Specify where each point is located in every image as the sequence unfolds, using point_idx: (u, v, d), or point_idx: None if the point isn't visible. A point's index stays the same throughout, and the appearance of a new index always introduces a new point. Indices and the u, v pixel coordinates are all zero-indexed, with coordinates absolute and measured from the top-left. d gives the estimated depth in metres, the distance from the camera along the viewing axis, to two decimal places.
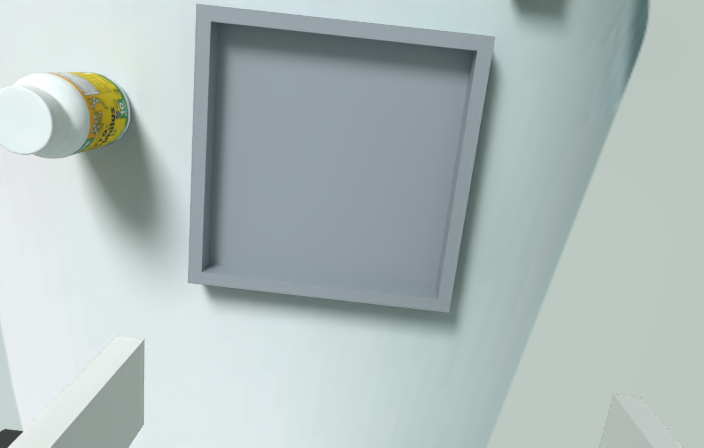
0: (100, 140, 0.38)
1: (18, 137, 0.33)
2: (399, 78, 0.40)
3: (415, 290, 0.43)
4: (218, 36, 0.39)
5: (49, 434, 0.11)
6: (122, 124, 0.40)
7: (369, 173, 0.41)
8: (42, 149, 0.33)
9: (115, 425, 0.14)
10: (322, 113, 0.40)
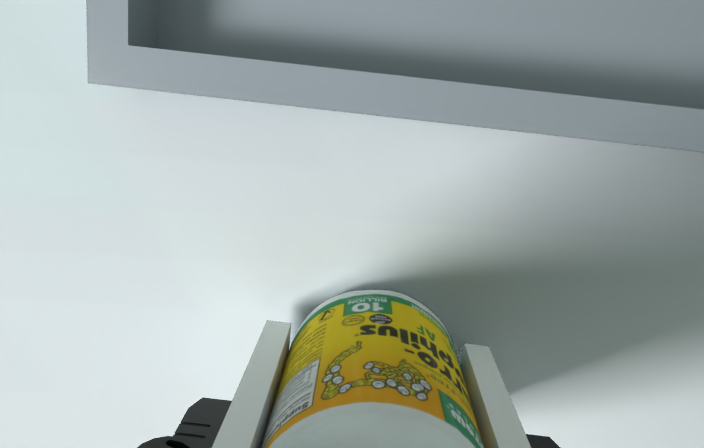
0: (447, 372, 0.14)
1: None
2: None
3: None
4: (187, 50, 0.15)
5: (255, 399, 0.13)
6: (406, 311, 0.16)
7: None
8: None
9: None
10: None
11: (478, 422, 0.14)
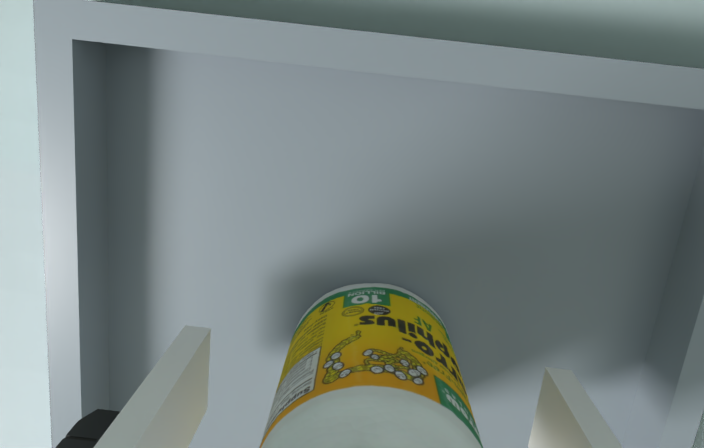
0: (443, 360, 0.14)
1: None
2: (179, 211, 0.18)
3: None
4: None
5: (146, 412, 0.12)
6: (404, 303, 0.16)
7: (394, 275, 0.18)
8: None
9: (189, 407, 0.15)
10: (264, 368, 0.19)
11: None
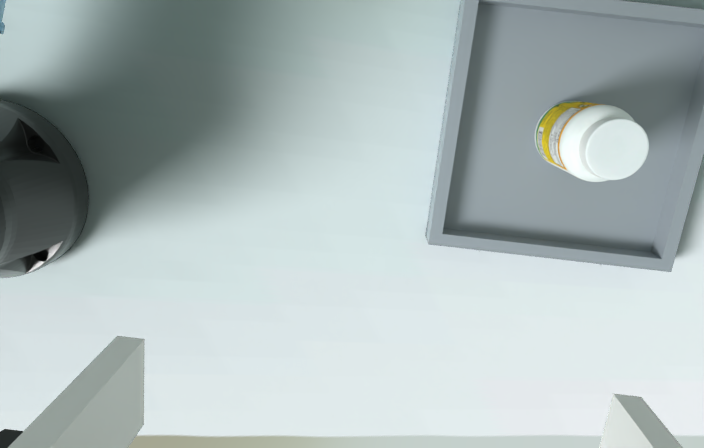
0: None
1: (632, 153, 0.36)
2: (493, 72, 0.44)
3: None
4: (449, 228, 0.47)
5: (49, 434, 0.11)
6: None
7: (579, 99, 0.44)
8: None
9: (115, 425, 0.14)
10: (519, 142, 0.45)
11: None
